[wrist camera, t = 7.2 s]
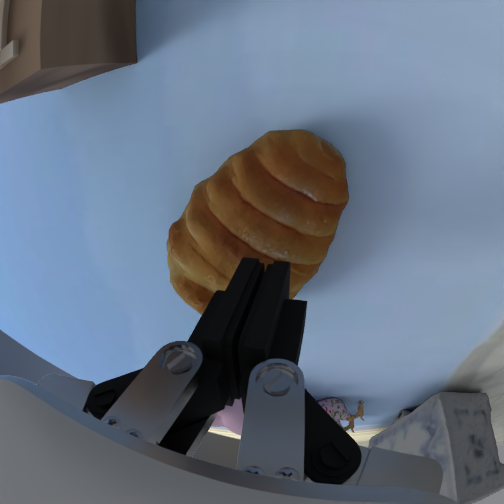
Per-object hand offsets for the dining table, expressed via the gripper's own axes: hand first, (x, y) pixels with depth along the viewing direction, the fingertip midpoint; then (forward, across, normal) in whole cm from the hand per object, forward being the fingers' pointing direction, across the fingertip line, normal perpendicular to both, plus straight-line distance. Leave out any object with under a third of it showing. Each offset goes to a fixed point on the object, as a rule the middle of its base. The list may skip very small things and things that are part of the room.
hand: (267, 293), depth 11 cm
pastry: (+5, +2, -1) cm, 5 cm away
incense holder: (+4, -14, +16) cm, 22 cm away
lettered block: (+4, +10, -12) cm, 16 cm away
